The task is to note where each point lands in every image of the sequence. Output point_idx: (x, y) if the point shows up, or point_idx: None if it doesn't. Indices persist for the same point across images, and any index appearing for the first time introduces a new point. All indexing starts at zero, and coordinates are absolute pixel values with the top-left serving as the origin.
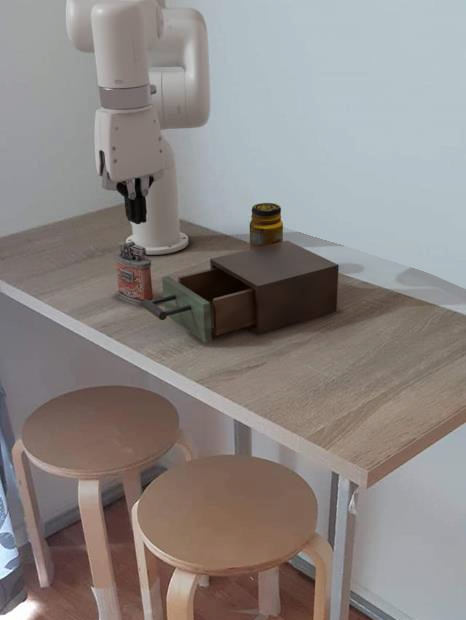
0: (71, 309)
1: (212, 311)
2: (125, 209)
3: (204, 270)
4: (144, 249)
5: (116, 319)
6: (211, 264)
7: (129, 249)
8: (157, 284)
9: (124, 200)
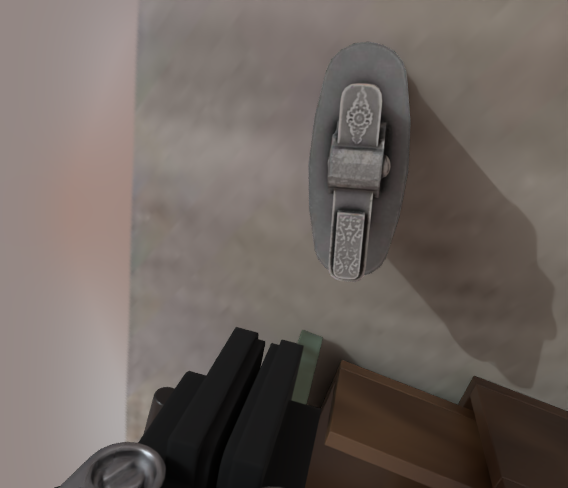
0: (166, 10)
1: (363, 465)
2: (172, 394)
3: (438, 478)
4: (348, 281)
5: (212, 202)
6: (496, 484)
7: (328, 191)
8: (536, 98)
9: (139, 441)
